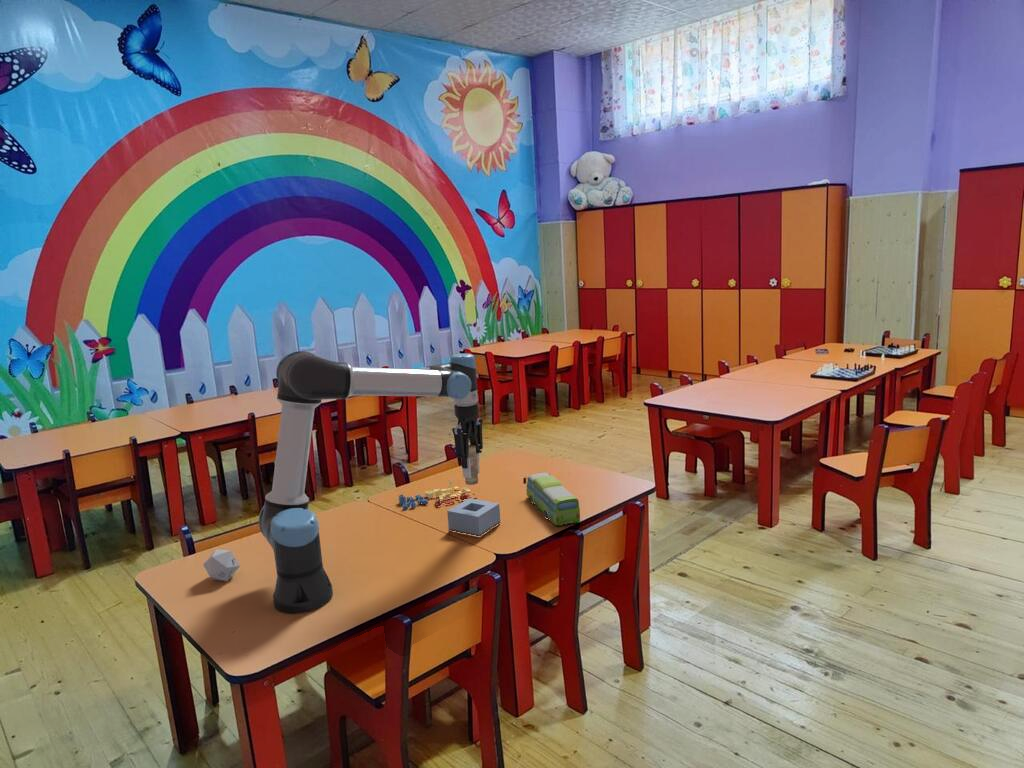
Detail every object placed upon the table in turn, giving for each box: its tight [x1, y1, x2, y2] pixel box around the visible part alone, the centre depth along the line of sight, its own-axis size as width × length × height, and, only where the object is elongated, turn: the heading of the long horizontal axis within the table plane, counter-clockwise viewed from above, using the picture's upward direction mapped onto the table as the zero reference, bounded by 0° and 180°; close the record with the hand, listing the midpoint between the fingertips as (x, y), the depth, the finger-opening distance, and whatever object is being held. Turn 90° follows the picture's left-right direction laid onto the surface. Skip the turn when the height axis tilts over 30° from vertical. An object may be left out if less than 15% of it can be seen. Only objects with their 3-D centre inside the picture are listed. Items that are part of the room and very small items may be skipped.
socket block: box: [446, 498, 501, 536], centre depth 224 cm, size 12×12×7 cm
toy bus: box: [522, 472, 581, 527], centre depth 235 cm, size 10×31×10 cm, turn 17°
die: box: [202, 548, 241, 582], centre depth 199 cm, size 8×9×10 cm
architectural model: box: [398, 479, 475, 511], centre depth 254 cm, size 45×14×5 cm, turn 118°
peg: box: [464, 444, 479, 486], centre depth 220 cm, size 4×4×12 cm
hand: (471, 474), depth 221 cm, fingers closed on peg, 4 cm apart
